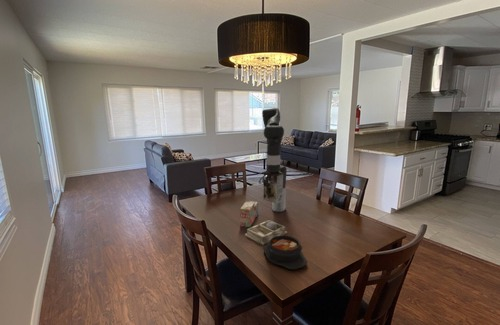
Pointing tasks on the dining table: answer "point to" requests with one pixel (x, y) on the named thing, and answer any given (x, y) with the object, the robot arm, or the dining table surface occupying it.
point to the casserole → (285, 252)
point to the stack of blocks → (248, 213)
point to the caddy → (265, 231)
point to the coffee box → (274, 188)
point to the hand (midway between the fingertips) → (272, 192)
